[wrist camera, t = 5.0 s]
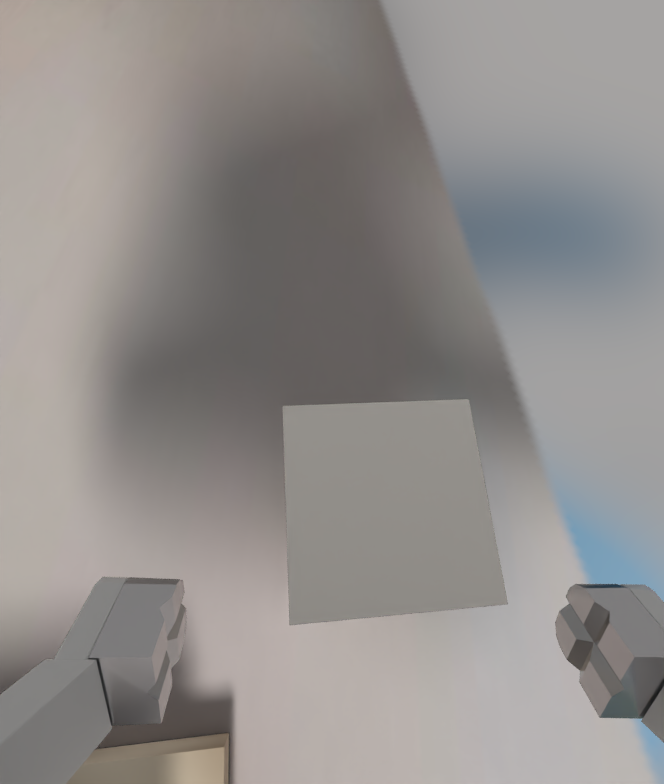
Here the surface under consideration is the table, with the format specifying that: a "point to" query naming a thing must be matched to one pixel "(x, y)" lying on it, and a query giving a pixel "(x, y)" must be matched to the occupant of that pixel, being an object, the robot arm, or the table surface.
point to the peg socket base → (159, 763)
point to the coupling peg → (386, 511)
